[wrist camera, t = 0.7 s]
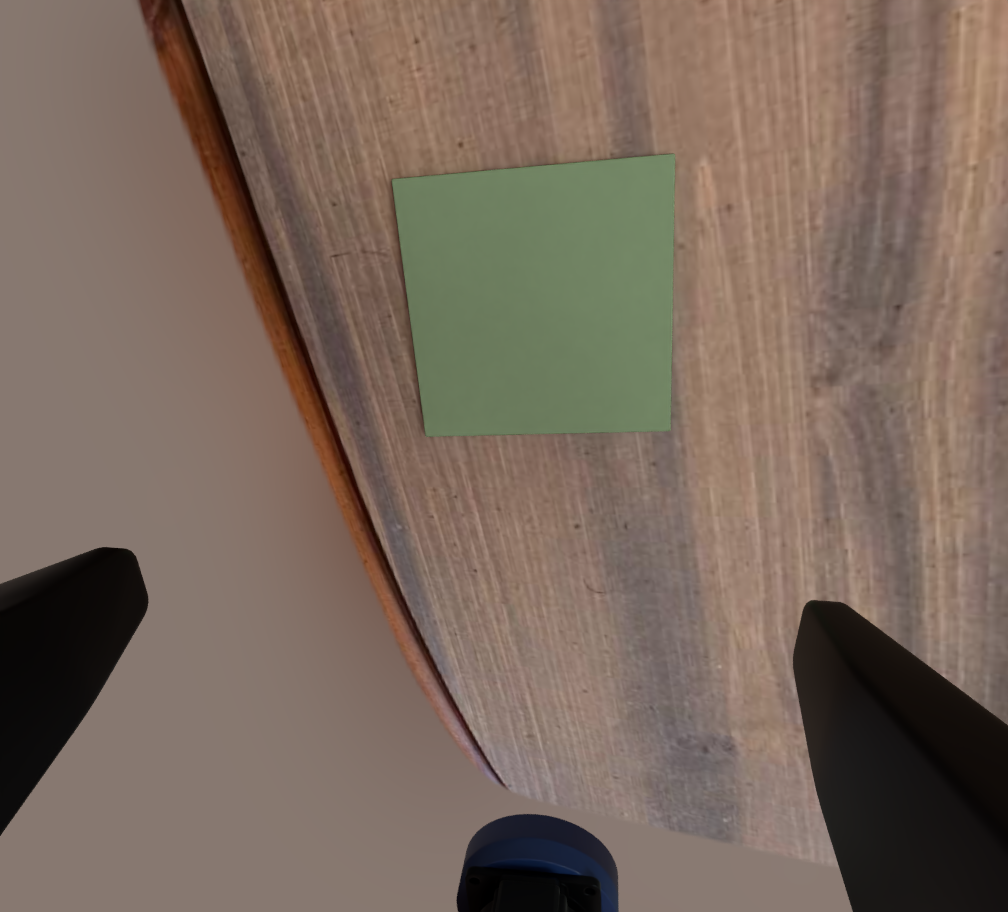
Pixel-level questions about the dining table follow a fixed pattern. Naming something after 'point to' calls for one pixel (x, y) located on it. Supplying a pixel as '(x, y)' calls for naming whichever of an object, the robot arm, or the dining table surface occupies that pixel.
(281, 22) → the dining table surface
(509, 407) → the coaster
